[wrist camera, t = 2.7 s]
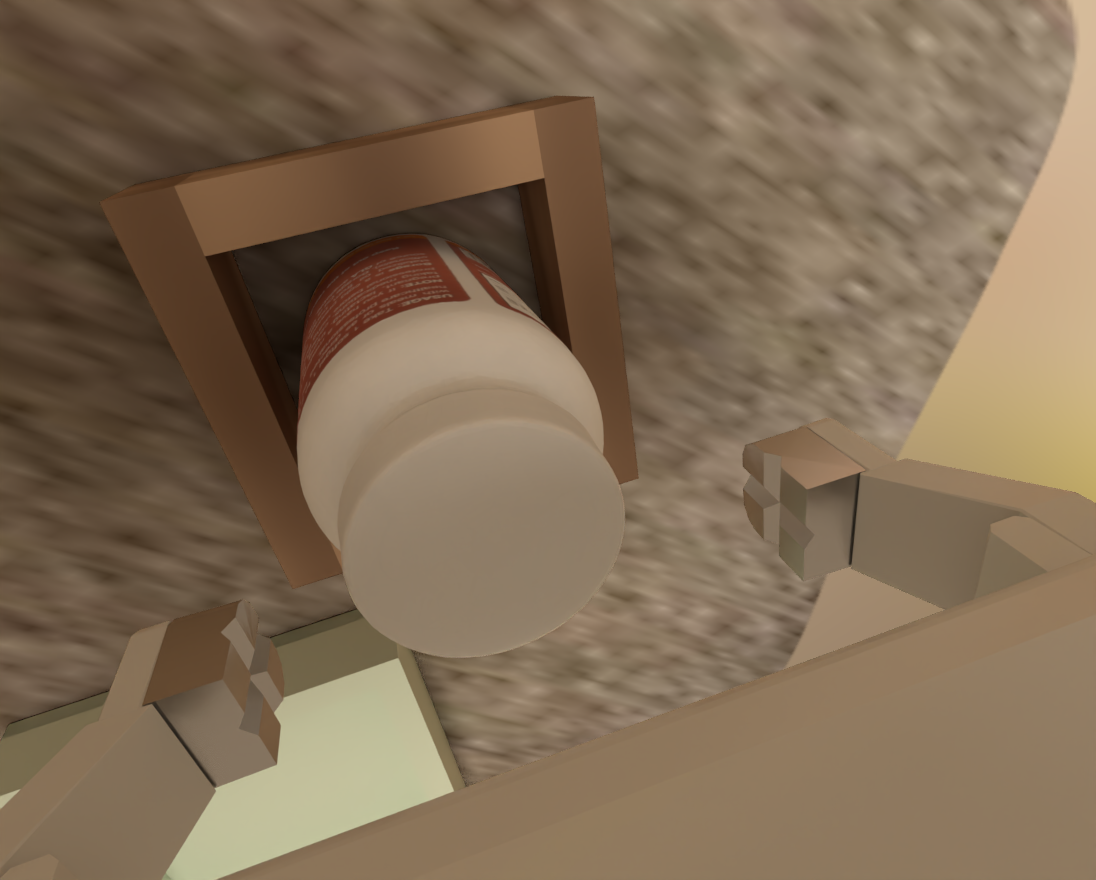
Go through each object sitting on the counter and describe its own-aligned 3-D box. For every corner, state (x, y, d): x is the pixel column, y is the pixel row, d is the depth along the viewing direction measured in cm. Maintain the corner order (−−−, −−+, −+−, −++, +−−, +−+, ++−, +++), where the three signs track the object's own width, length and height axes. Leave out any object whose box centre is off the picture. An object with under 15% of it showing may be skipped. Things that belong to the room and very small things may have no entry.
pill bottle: (297, 417, 20) (271, 707, 11) (312, 209, 17) (295, 347, 8) (493, 432, 22) (614, 683, 13) (531, 249, 20) (716, 394, 10)
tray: (183, 910, 28) (169, 990, 26) (8, 724, 22) (-33, 807, 19) (470, 798, 31) (483, 862, 28) (390, 598, 24) (398, 658, 22)
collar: (296, 530, 22) (292, 589, 19) (134, 184, 16) (99, 202, 14) (605, 436, 24) (638, 478, 21) (556, 96, 18) (593, 97, 15)
